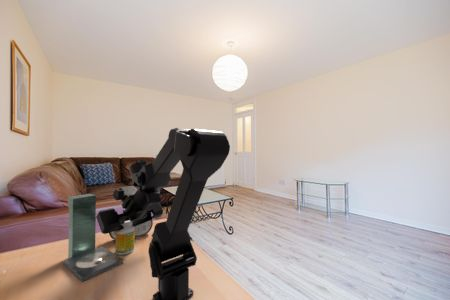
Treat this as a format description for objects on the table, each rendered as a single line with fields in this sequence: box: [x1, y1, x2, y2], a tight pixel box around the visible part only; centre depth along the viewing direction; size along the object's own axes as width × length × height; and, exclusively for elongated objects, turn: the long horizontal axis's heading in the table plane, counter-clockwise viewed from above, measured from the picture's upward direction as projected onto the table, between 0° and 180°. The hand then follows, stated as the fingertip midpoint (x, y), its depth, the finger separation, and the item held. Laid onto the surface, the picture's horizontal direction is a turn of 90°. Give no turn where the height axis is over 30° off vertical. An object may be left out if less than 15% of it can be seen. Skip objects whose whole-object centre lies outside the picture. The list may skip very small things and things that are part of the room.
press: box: [63, 193, 124, 283], centre depth 59 cm, size 24×10×18 cm, turn 55°
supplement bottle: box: [115, 220, 136, 256], centre depth 64 cm, size 5×5×10 cm
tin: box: [108, 219, 154, 241], centre depth 74 cm, size 15×3×8 cm, turn 124°
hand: (123, 229), depth 64 cm, fingers closed on supplement bottle, 5 cm apart
